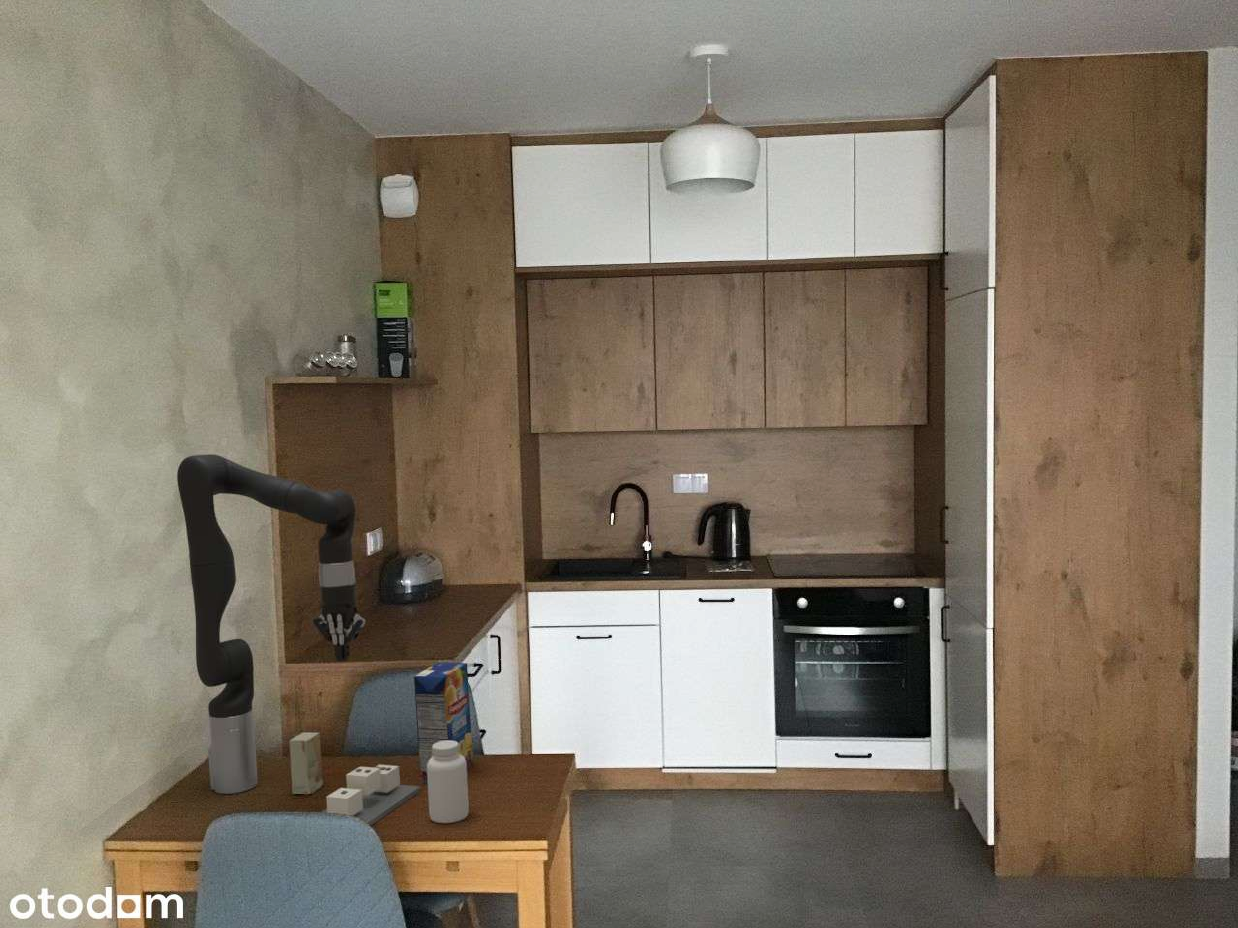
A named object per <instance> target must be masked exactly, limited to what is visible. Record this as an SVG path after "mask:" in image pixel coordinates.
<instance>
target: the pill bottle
mask: <svg viewBox="0 0 1238 928" xmlns="http://www.w3.org/2000/svg"><path fill="white" fill-rule="evenodd" d="M432 753H433V757H432V758H431V759H430V760H429V761H428V763H427V778H428V783H427V793H428V794H427V796H428V811H429V812H428V813H429V819H430V820H431V821H432V822H434V823H438V824H452V823H457V822H460V821H462V820H465V819H466V818H467V817H468V815H469V811H470V810H469V809H470V808H469V806H470V805H469V788H468V784H469V783H468V770H467V764H466V760H465V758H464V757H463V756H462V755H460V754H459V744H458V742H456V741H452V740H446V741H440V742H437V743H435V744H433V746H432Z"/></svg>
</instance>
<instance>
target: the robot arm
mask: <svg viewBox="0 0 1238 928" xmlns="http://www.w3.org/2000/svg"><path fill="white" fill-rule="evenodd" d="M176 476H177V477H176V479H177V480H176V481H177V486H178V492H179V497H180V502H181V505H182V506H181V507H182V512H183V515H184V521H185V528H186V529H185V530H186V539H187V545H188V546H187V547H188V553H189V554H188V555H189V568H190V570H189V571H190V580H191V585H192V592H193V593H192V594H193V603H194V615H195V616H194V617H195V661H196V662H195V663H196V668H197V674H198V678H199V679H200V681H201V683H202V684H203V685H204V686H205V687H208V688H209V687H210V688H214V687H218V686H222V685H225V686H224V688H223V690H222V691H220V692H219V693H218V695H216V696H215V697H213V698H212V699H211V700H210V701H209V703H208V705H207V706H208V707H207V708H208V720H209V721H208V722H209V732H210V733H209V734H210V746H209V747H208V748H207V757H208V769H209V782H210V790H213V791H214V792H216V793H217V794H221V795H228V794H231V795H232V794H238V793H242V792H245V791H248V790H251V789H253V788H255V787H257V785H258V783H259V781H258V768H257V767H258V766H257V752H256V751H257V750H256V737H255V726H254V713H253V711H254V710H253V701H254V696H255V685H254V684H255V683H254V677H255V676H254V675H255V674H254V658H253V652H252V649H251V647H250V645H249V644H248V642H247V641H246V640H244V639H242V638H233V639H228V640H224V641H221V637H220V636H221V635H220V633H221V622H222V618H223V615H224V612H225V610H226V608H227V605H228V604H229V601H230V599H231V597H232V595H233V592H234V590H235V588H236V587H235V586H236V582H237V575H236V574H237V573H236V564H235V556H234V552H233V548H232V547H231V544H230V542H229V540H228V539H227V536H226V535H225V534H224V532H223V530H222V528H221V527H220V525H219V522H218V519H217V516H216V511H215V500H214V496H216V495H219V494H222V495H223V494H227V495H238V496H243V497H248V498H250V499H252V500H254V501H256V502H258V503H259V504H262V505H264V506H266V507H268V508H270V509H274V510H276V511H277V510H278V511H280V512H281V511H282V512H286V513H289V514H295V515H298V516H299V517H301V518H303V519H305V520H307V521H310V522H313V523H315V524H319V525H325V532H324V534H323V535H321V537H320V538H319V539H318V544H317V545H318V546H317V547H318V561H319V562H318V563H319V564H318V565H319V567H318V581H319V592H320V604H321V605H322V609H321V614H320V615H319V616H318V617H317V618H314V619H312V620H313V621H312V622H313V624H314V626H315V627H316V628H317V630H318V632H319V633H320V634H321V635H322V636H323V638H324V640H325V641H327V642H330V643H333V646H334V658H335V659H336V661H337V662H344V663H345V662H346V661H348V660H349V658H350V655H351V654H350V653H351V651H350V644H351V642H352V641H356V640H357V639H358V637H359V636H360V634H361V633H362V632H363V629H364V628H365V627H366V625H367V623H368V618H367V617H362V616H361V615H360V614H359V611H358V608H357V606H356V603H357V601H358V600H357V587H356V585H357V584H356V572H355V566H354V558H353V546H352V540H353V539H352V538H353V534H354V526H355V520H356V505H355V502H354V499H353V497H352V495H351V494H350V493H349V492H348V491H346V490H344V489H333V490H328V491H327V490H326V491H322V490H321V491H320V490H317V489H313V488H312V487H311V486H310V485H308V484H306V483H305V482H304V483H303V482H301V481H298V480H293V479H289V478H284V477H279V476H276V475H271V474H268V473H265V472H264V473H263V472H260V471H257V470H254V469H251V468H248V467H246V466H243V465H241V464H239V463H237V462H234V461H232V460H230V459H228V458H225V457H224V456H221V455H218V454H215V453H214V454H213V453H212V454H197V455H190V456H187V457H185V458H184V459H182V461H180V463H179V466H178V467H177V474H176Z"/></svg>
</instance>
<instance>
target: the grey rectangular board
mask: <svg viewBox="0 0 1238 928" xmlns="http://www.w3.org/2000/svg"><path fill="white" fill-rule="evenodd" d="M420 792H421V787H420V786H419V785H418V786H416V785H405V784H400V785H398V786H397V787H395V788H394V789H392V790H391V791H389V792H388V793H386V792H375V791H374V792H373V793H371V794H370V795H368V796H366V795H362V801H363V809H362V810H361V811H359V812H358V813H356V814H355V815H353V816H356V817H358V818H361V819H363V820H364V821H366V822H367V823H368V824H370V825H371V826H373V825H374V824H376V823H378V821H380V820H382V819H383V818H384V817H386V816H388V814H390V813H392V812H393V811H394V810H395V809H397V808H398V807H400V806H401V805H403V804H404V803H406V802H407V801H408V800H410V799H411V798H413V797H414V796H416V795H417V794H418V793H420ZM321 812H327V808H325V809H324V810H322V811H321Z"/></svg>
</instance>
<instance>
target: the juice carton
mask: <svg viewBox="0 0 1238 928" xmlns="http://www.w3.org/2000/svg"><path fill="white" fill-rule="evenodd" d="M468 673H469V671H468V663H467V662H466V663H463V662H436V663H435V664H432V665H431V666H429V667H427V668H426V669H424V670H422V671H421V672H419V673H417V674H415V675H414V676H413V681H414V682H413V683H414V698H415V699H414V700H415V713H416V729H417V745H418V760H419V763H418V764H419V775H420V783H427V784H428V778H427V763H428V761H429V760H430V759H431V758H432V757H433V753H432V746H433V744H435V743H437V742H440V741H446V740H452V741H456V742H458V744H459V754H460V755H462V756H463V757H464V758H465V760H466V764H467V771H469V769H471V768H472V767H473V766H474V755H473V753H474V752H473V751H474V750H473V740H472V739H473V737H472V736H473V734H472V721H471V719H472V718H471V707H470V706H471V705H470V703H471V702H470V690H469V674H468Z"/></svg>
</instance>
